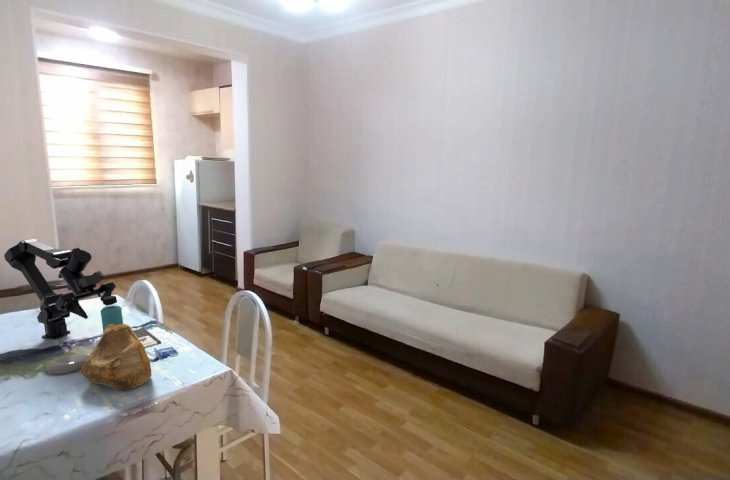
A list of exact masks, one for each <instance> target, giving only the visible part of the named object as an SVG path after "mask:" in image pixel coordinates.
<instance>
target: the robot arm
mask: <svg viewBox="0 0 730 480" xmlns="http://www.w3.org/2000/svg"><path fill="white" fill-rule="evenodd" d="M3 256H4V260H5V262H7V264H9V266H10V267H11V269H14V270H17V271H20V272H21V273H22V275H23V277H24V279H25V280H26V282H27V283H28V284H29V285H30V288H31V289H32V290H33V292H34V293H35V295H36V296H37V297H38V299H39V301H40V302H39V303H40V304H39V310H40V311H39V313H38V315H37V316H36V319H37V322H38V323H39V324H42V325H43V326H44V332H45V334H43V335H42V336H41V338H46V339H53V340H55V339H59V338H61V337H63V336H65V335H67V334H70V333H71V330H68V326H67V322H66V318H70V316H71V313H72V314H74V315H76V316H79V317H81V318H83V319H85V320H87V319H88V318H89V316H88V315H87V312H86V311H85V310H84V308H83V307H82V305H81V304H80V302H79V301H81V300H83V299H87V298H90V297H93V296H98V297H99V300H100V301H101V302H102V303H103V298H104V297H107V296H112V293H113V291H114V290H115V288H116V287H117V285H116V284H115V282H114V281H106V282H105V283H101V282H102V280H104V279H105V275H104V274H103V273H102V271H101V270H99V271H95V272H93V274H90V275H85V274H84V273H83V271H85V270H86V268H87V266H88V265H89V263H90V262H91V260H92V255H91V253H90V252H88V251H86V250H84V249H80V247H75V248H74V247H73V249H71V250H70V249H67V248H66V249H65V248H54V247H52V246H49V245H48V244H45V243H43V242H41V241H39V240H38V239H35V238H30V239H24V240H21V241H19V242H18V243H17V244H16V245H14V246H12V247H10V248H9V249H7V250H6V252H5V253H4V255H3ZM37 257H38V258H40V259H42V260H45V263H46V265H47V266H49V267H50V268H51V269H60V268H61V269H60V270H59V271H58V272H59V273H58V275H57V277H58V278H57V279H63V280H64V281H65V284H66V285H68V287H67V290H68V292H67V293H56V292H55V291H54V290H53V289H52V286H51V285H50V284H49V283H48V280H47V279H46V278H45V277H44V275H43V274H42V272H41V271H40V269H39V268H38V266H37V265H36V260H37ZM98 283H99V284H100V283H101V284H100V286H99V287H98V288H96V287H97V284H98ZM69 291H71V292H69ZM110 305H114V304H110ZM105 306H107V305H105Z"/></svg>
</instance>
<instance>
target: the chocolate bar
mask: <svg viewBox="0 0 730 480" xmlns="http://www.w3.org/2000/svg"><path fill="white" fill-rule="evenodd" d="M132 330H133V332H134V333H135V334H136V336H137V337H138V339H139V341H140V342H141V343H142V344H143V347H144V348H149V347H153V346H156V345H159V344H162V341H161V340H160V339H158V338H157V337H156V336H155V335H153V334H152V333H151V332H150V331H149V330H148V329H146V328H145V327H141V328H138V329H132Z"/></svg>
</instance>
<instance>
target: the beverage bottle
mask: <svg viewBox="0 0 730 480" xmlns="http://www.w3.org/2000/svg"><path fill="white" fill-rule="evenodd" d="M117 303H118V299H117V296H116V295H111V296H107V297H104V298H103V302H102V305H105V306H103V308H101V310H100V312H99V313H100V316H101V317H100V318H101V324H102V325H101V326H102V334H103V333H104V331H105V329H106V327H107V326H108V325H110V324H114V325H117V326H118V325H120V324H124V317H123V311H122V307H121V306H120V305H118V304H117ZM110 304H113V305H110ZM106 305H107V306H106Z"/></svg>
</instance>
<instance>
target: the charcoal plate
mask: <svg viewBox="0 0 730 480" xmlns="http://www.w3.org/2000/svg"><path fill="white" fill-rule="evenodd" d="M89 355H90V354H85V353H78V354H77V353H75V354H70V355H64V356H62V357H59V358H56V359H54V360H52V361H51V362H49V363H48V364H47V365H46V366H45V369H46V374H48V375H51V376H64V375H70V374H74V373H77V372H80V370H81V368H82V365H83V364H84V362H85V360H86V358H87V357H88V356H89Z"/></svg>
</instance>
